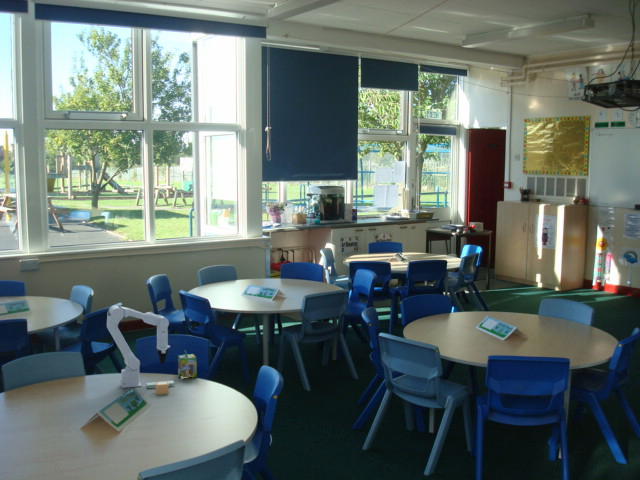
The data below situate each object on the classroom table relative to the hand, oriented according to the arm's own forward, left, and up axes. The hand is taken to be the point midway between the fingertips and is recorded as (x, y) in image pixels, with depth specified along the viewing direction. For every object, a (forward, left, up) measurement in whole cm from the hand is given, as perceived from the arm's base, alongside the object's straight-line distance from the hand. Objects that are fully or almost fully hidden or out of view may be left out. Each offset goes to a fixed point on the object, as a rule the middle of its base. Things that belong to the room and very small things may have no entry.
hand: (162, 363), depth 347 cm
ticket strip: (-2, -9, -10) cm, 14 cm away
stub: (-2, -20, -10) cm, 23 cm away
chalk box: (+14, +5, -10) cm, 18 cm away
